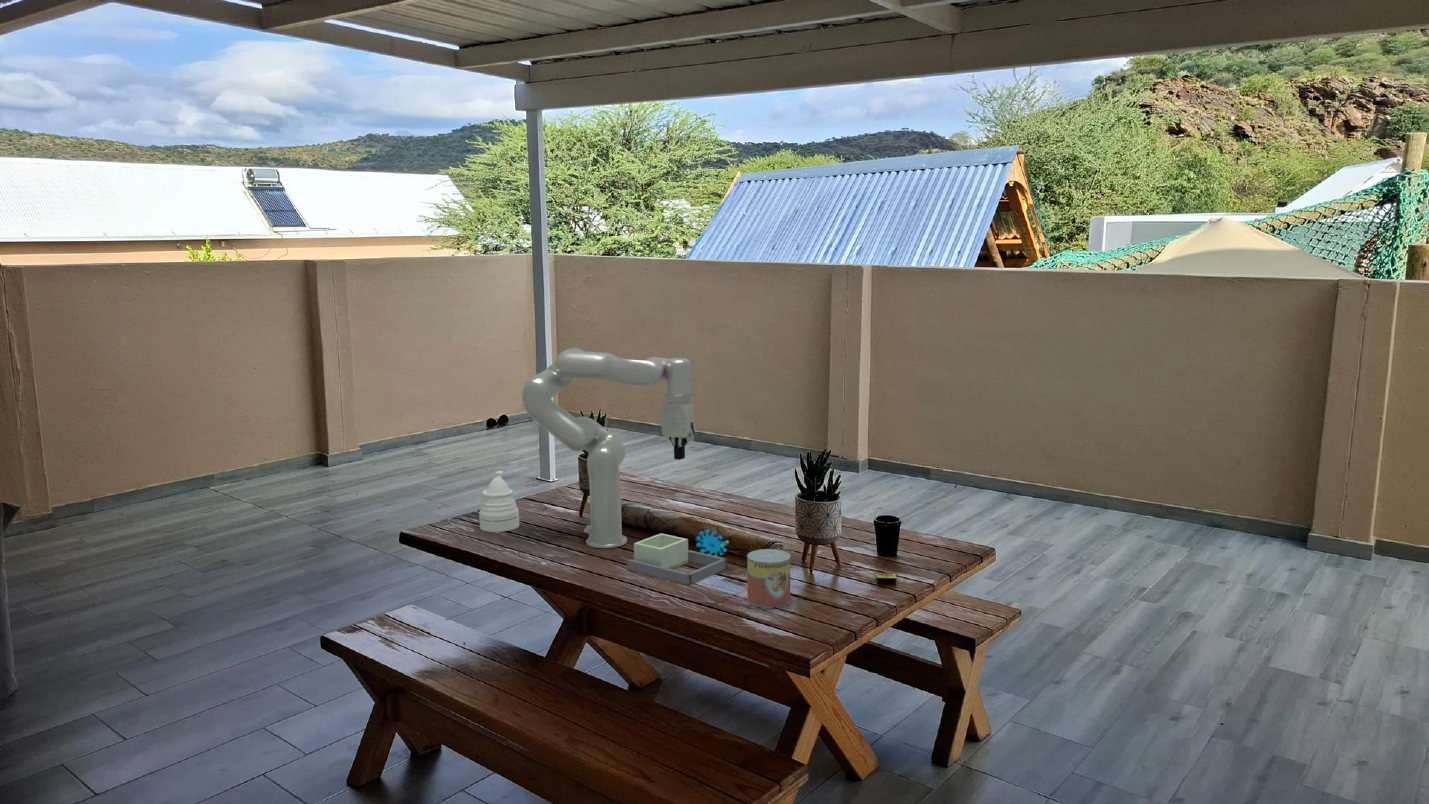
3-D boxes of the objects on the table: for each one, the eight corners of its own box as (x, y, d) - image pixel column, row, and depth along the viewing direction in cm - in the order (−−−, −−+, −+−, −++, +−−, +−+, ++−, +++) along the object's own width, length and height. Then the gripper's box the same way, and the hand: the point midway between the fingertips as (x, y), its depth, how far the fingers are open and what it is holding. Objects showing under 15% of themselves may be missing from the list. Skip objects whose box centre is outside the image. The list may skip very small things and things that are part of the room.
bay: (628, 573, 276) (627, 560, 276) (667, 557, 290) (667, 545, 289) (689, 589, 263) (688, 575, 263) (727, 571, 277) (727, 558, 276)
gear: (702, 558, 284) (693, 528, 289) (694, 568, 288) (685, 538, 293) (735, 556, 290) (725, 527, 295) (726, 566, 294) (716, 538, 299)
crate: (634, 567, 278) (633, 543, 277) (661, 556, 288) (661, 533, 287) (661, 573, 272) (660, 549, 271) (688, 562, 282) (688, 539, 281)
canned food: (759, 610, 247) (758, 564, 245) (740, 596, 257) (739, 552, 255) (798, 603, 252) (798, 558, 250) (778, 590, 262) (778, 546, 260)
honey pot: (488, 520, 332) (485, 468, 329) (524, 521, 330) (522, 469, 327) (473, 531, 319) (471, 477, 317) (511, 532, 318) (509, 478, 315)
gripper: (651, 398, 297) (652, 458, 300) (690, 403, 288) (691, 464, 291) (667, 395, 303) (668, 453, 306) (705, 399, 294) (706, 459, 297)
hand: (679, 458), depth 298 cm, fingers closed
